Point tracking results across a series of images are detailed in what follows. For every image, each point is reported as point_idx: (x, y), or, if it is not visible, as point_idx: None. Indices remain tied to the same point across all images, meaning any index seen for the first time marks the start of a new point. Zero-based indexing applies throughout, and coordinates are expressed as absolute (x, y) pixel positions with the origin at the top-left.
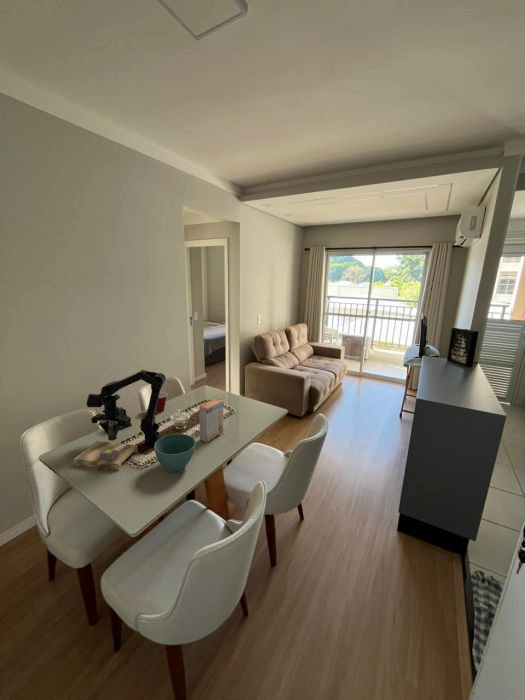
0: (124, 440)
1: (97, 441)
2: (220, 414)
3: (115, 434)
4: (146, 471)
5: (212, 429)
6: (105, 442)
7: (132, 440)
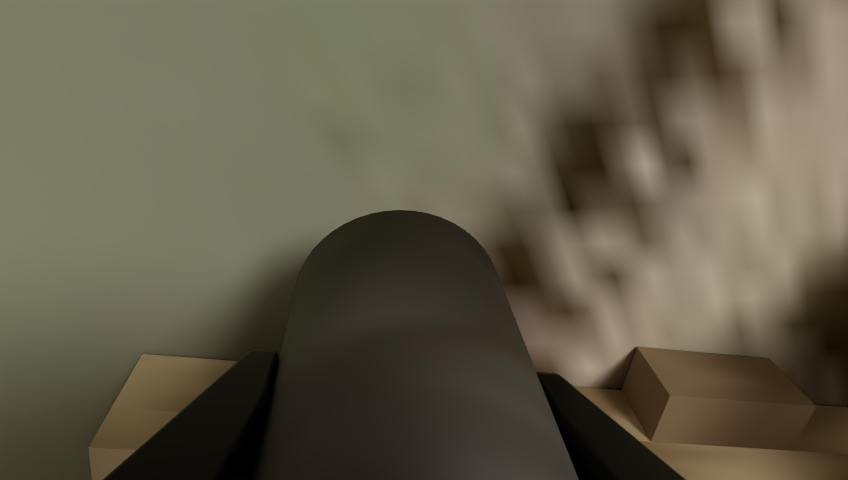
0: (596, 85)
1: (113, 460)
2: None
3: None
4: None
5: None
6: None
7: (779, 76)
